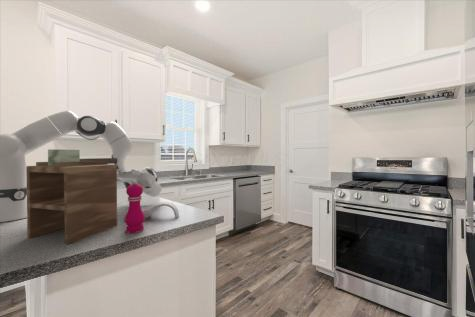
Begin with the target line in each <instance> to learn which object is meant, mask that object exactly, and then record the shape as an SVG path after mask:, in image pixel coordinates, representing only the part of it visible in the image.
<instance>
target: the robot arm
mask: <svg viewBox="0 0 475 317" xmlns="http://www.w3.org/2000/svg"><path fill="white" fill-rule="evenodd" d="M73 132H75V133H76V134H78V135H79V136H80V137H82V138H83V139H86V140H88V141H94V140H97V139H99V138H103V139H104V140H105V141H106V142H107V144H108V145H109V146H110V149H111V152H112V155H111V158H117V163H115V164H114V165H117V180H119V181H121V182H123V185H124V186H125V189H126V190H127V188H128V186H130V185H132V182H133V181H134V180H136V181H137V184H138V185H140V186H142V188H143V193H144V194H145V195H147V196H149V197H153V198H155V197H157V196H159V195H160V194H161V192H162V191H163V189H162V186H161V185H160V183H159V182H158V174H157V172H156V170H154V169H153V168H152V167H150V166H146V167H143V168H142V169H140V170H139V171H138V170H136V169H131V171H128V168H127V166H126V164H125V160H126V158H127V157H128V155H129V153H131V150H132V148H133V141H132V139H131V138H130V136H129V135H128V134H127V133H126V132H125V130H124V129H123V128H122V127H121V126H120V125H119V124H118V123H117V122H115V121H108V122H106V123H105V122H104V120H101V119H99V118H97V117H95V116H92V115H84V116H81V117H79V116H78V115H77V114H76V113H75V112H73V111H71V110H64V111H59V112H57V113H53V114H51V115H48V116H46V117H43V118H41V119H39V120H36V121H34V122H32V123H29V124H27V125H26V126H24V127H22V128H20V129H18V130H16V131H15V132H12V133H10V134H9V133H4V134H2V133H1V134H0V223H5V222H12V221H17V220H22V219H25V218H27V172H26V166H27V164H26V163H27V162H26V155H28V154H31V153H32V152H34V151H36V150H37V149H39V148H41V147H43V146H45V145H46V144H49V143H51V142H53V141H55V140H57V139H59V138H62V137H64V136H66V135H67V134H70V133H73Z"/></svg>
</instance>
